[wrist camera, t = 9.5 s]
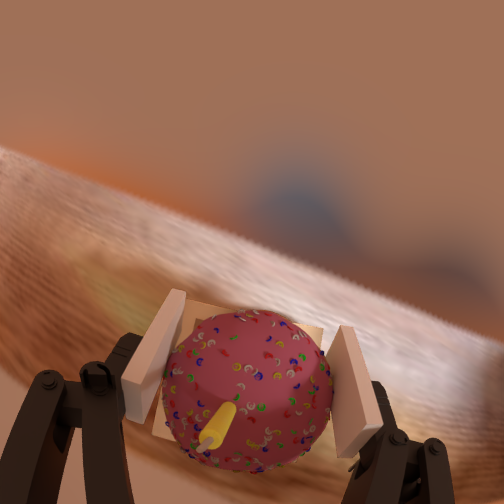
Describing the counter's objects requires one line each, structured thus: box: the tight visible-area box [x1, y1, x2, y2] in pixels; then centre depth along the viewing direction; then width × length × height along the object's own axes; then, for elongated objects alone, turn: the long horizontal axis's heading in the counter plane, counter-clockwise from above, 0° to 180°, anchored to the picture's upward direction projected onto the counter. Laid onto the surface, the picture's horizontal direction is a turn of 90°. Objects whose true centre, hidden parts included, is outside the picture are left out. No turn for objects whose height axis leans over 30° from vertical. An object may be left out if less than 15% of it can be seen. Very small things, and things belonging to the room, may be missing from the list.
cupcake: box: [161, 309, 334, 474], centre depth 12 cm, size 9×8×12 cm
